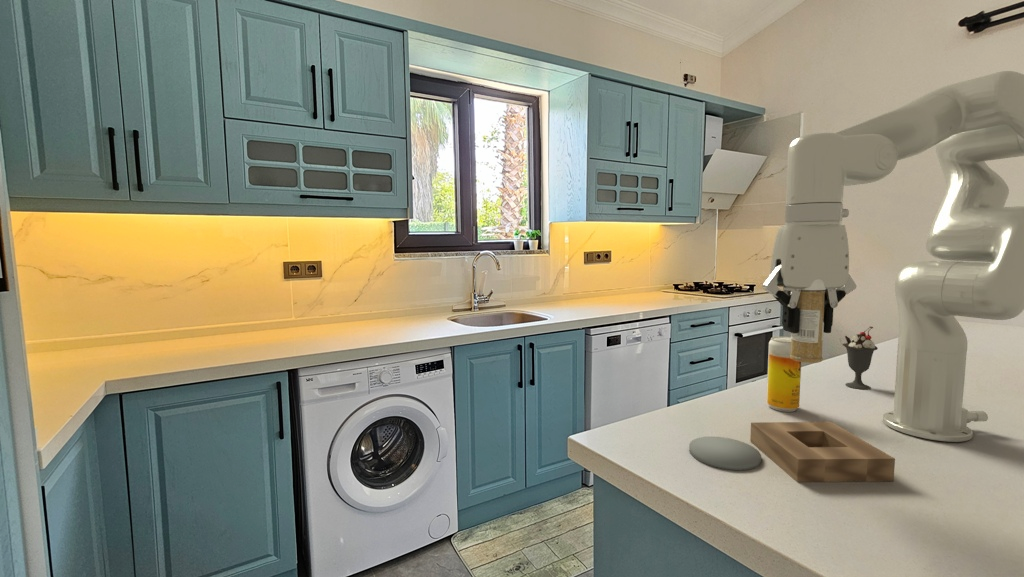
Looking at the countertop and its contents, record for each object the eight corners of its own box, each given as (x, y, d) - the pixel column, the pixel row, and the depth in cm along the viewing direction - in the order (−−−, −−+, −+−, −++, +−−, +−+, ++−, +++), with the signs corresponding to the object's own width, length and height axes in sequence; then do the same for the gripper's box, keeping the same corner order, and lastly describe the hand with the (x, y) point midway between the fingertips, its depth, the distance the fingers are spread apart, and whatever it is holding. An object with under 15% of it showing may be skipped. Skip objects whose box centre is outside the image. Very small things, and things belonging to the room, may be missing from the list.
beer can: (798, 414, 96) (802, 343, 94) (765, 409, 99) (768, 340, 98) (799, 405, 101) (802, 337, 100) (767, 401, 104) (769, 335, 103)
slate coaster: (741, 440, 84) (741, 436, 84) (774, 470, 73) (774, 465, 73) (680, 440, 84) (680, 436, 84) (703, 470, 73) (704, 465, 73)
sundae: (882, 390, 110) (886, 328, 109) (853, 390, 110) (857, 328, 109) (861, 382, 117) (865, 323, 115) (834, 382, 117) (838, 323, 115)
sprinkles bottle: (827, 361, 74) (832, 277, 73) (814, 365, 72) (818, 278, 71) (797, 355, 78) (801, 275, 77) (783, 359, 76) (787, 276, 74)
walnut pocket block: (830, 440, 83) (831, 421, 83) (893, 481, 69) (895, 458, 69) (750, 441, 84) (750, 422, 83) (797, 481, 69) (798, 459, 69)
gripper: (849, 217, 77) (842, 327, 78) (746, 218, 77) (742, 327, 78) (885, 214, 69) (877, 335, 71) (771, 215, 69) (766, 336, 71)
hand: (806, 330), depth 75 cm, fingers closed on sprinkles bottle, 4 cm apart
